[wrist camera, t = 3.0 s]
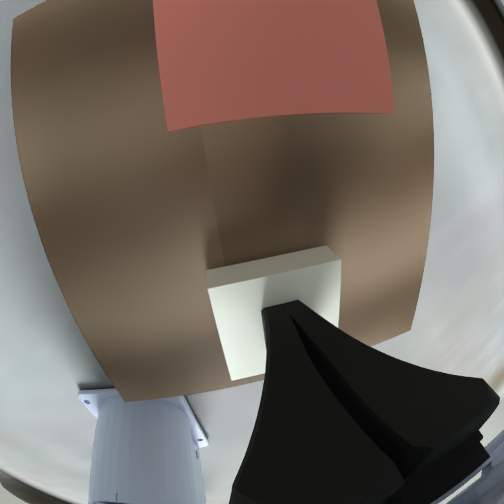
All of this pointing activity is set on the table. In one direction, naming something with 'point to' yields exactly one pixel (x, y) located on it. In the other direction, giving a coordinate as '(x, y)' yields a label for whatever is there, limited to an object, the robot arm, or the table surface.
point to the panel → (207, 192)
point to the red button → (270, 59)
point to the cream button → (269, 300)
